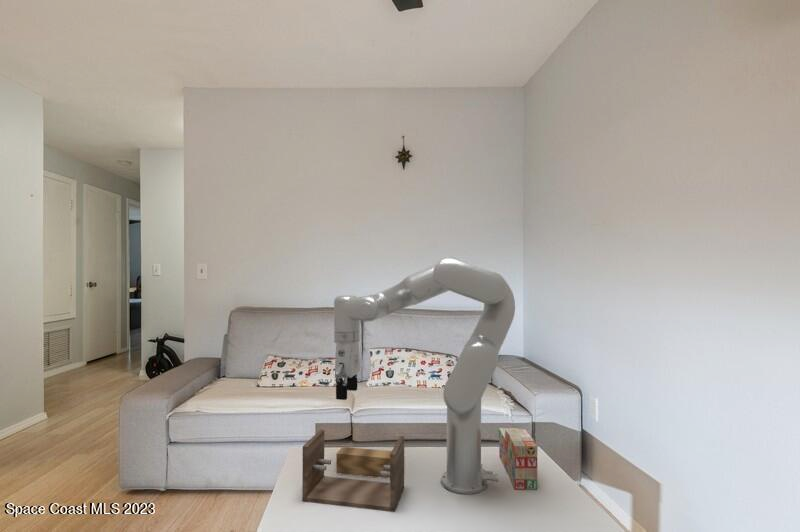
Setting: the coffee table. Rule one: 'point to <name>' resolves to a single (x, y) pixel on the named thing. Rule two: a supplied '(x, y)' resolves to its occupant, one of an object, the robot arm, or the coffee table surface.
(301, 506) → the coffee table surface
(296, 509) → the coffee table surface
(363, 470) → the shelf board
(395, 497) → the shelf frame
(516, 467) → the stack of blocks
